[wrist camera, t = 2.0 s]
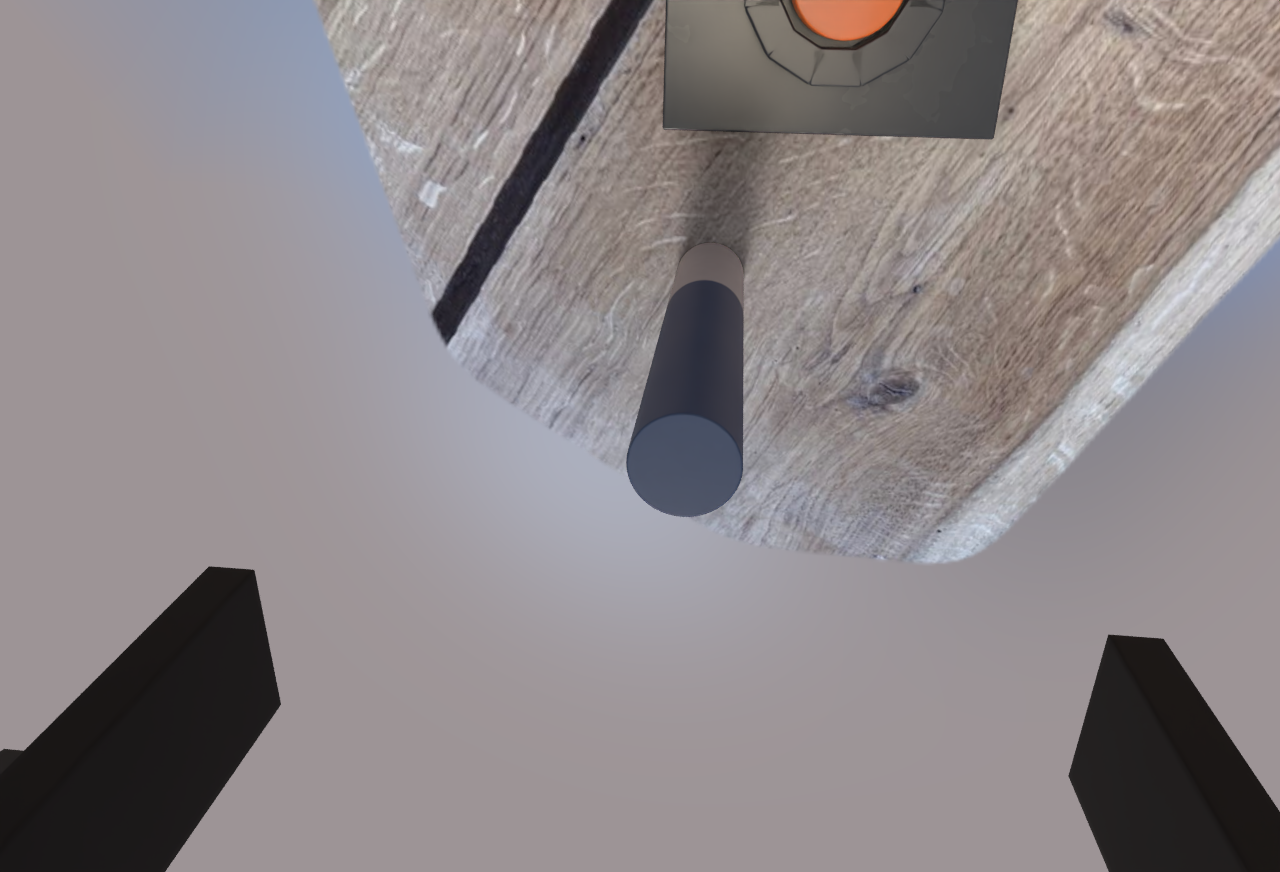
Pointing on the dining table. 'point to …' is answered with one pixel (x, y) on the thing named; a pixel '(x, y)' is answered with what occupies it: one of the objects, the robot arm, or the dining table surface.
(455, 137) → the dining table surface
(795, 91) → the station
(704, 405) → the pen
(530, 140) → the dining table surface
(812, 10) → the button
